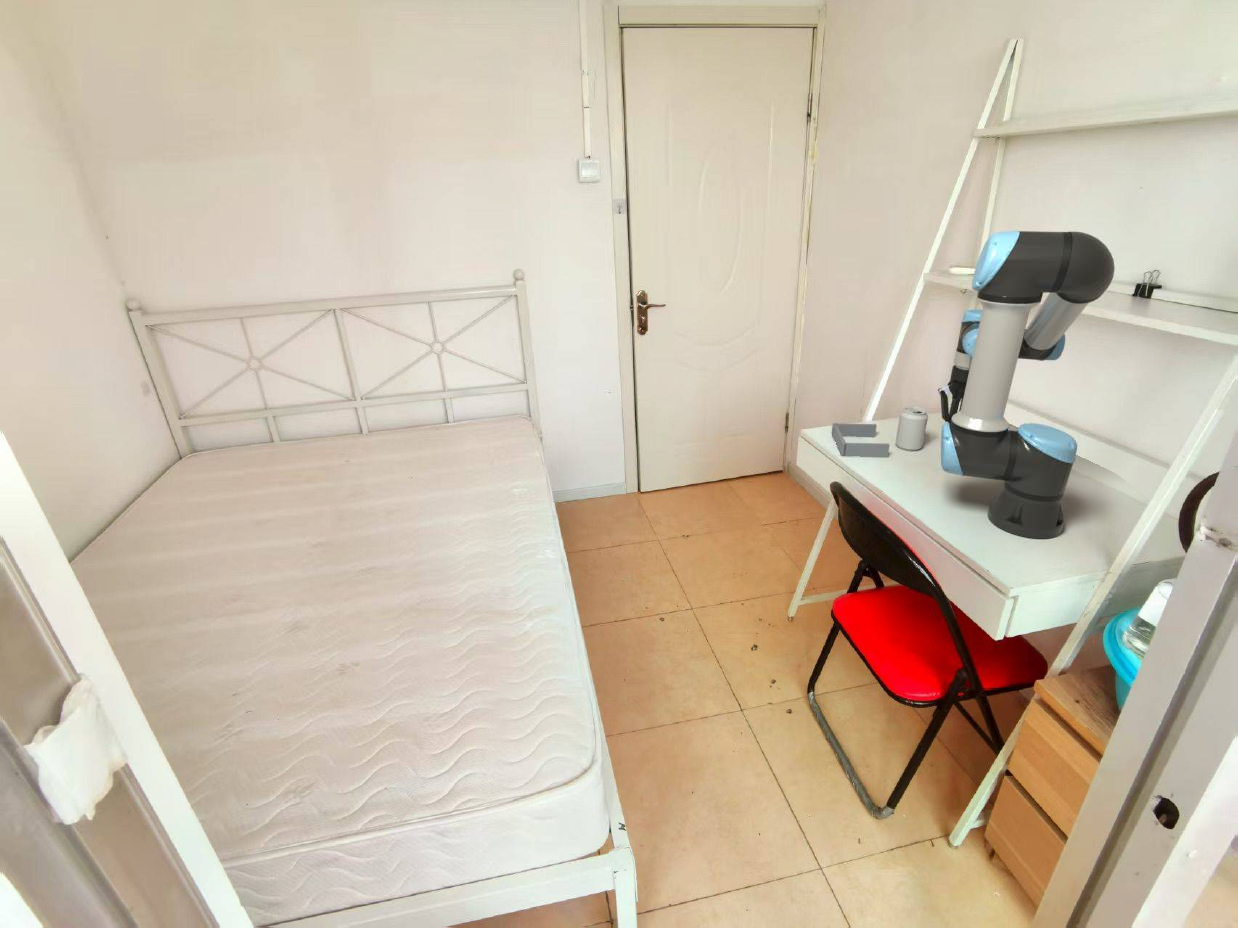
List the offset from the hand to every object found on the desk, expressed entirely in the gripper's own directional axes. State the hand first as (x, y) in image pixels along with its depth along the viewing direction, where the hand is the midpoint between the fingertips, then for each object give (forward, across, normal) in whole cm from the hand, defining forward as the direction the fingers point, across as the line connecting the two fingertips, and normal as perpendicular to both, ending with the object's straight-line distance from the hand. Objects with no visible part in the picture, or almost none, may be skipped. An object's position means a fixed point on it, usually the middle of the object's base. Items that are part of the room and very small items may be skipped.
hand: (951, 442), depth 187 cm
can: (+2, +12, 0) cm, 12 cm away
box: (+2, +26, 0) cm, 27 cm away
